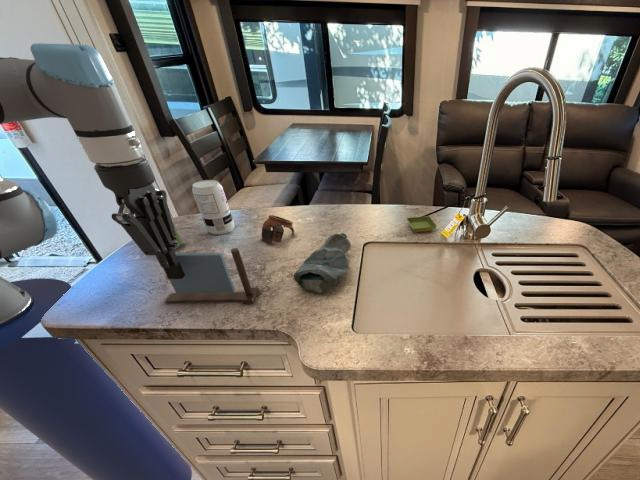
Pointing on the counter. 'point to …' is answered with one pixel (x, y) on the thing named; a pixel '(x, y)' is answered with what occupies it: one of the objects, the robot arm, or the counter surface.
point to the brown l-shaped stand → (245, 297)
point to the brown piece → (275, 229)
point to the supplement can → (213, 206)
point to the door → (203, 274)
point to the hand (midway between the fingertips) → (176, 277)
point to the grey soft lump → (325, 265)
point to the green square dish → (421, 223)
